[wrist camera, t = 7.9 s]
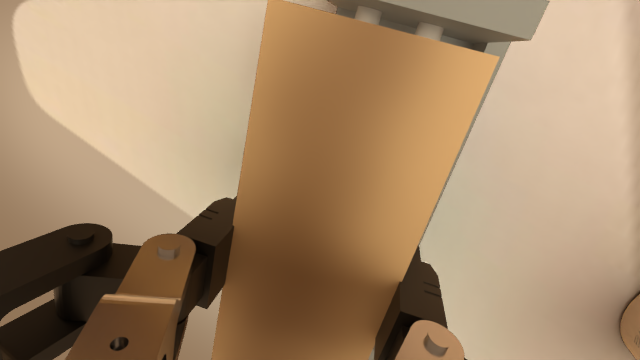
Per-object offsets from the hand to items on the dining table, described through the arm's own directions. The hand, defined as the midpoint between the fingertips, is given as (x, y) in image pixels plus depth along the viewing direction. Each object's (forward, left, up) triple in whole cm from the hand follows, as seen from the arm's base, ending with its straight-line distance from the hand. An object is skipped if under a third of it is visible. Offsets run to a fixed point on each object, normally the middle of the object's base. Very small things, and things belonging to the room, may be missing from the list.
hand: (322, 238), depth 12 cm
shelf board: (0, 0, 0) cm, 0 cm away
